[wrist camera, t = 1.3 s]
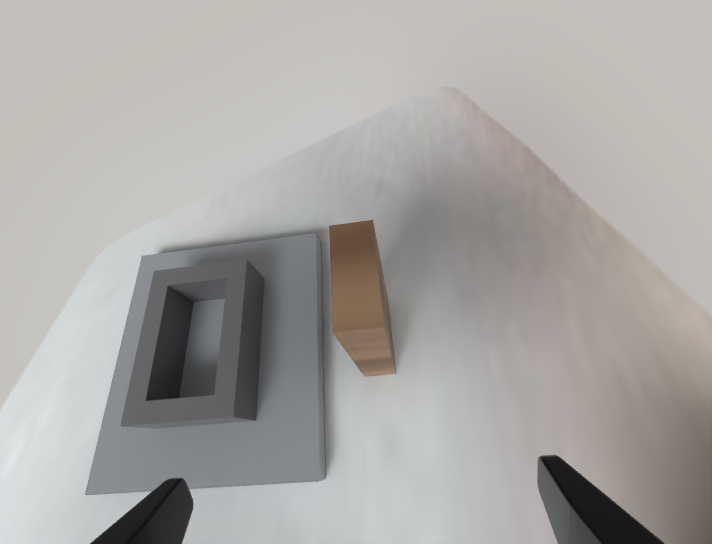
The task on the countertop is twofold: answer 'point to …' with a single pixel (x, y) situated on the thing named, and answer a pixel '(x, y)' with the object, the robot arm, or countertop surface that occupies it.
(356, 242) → the walnut block
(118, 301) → the countertop surface
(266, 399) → the grey socket base
